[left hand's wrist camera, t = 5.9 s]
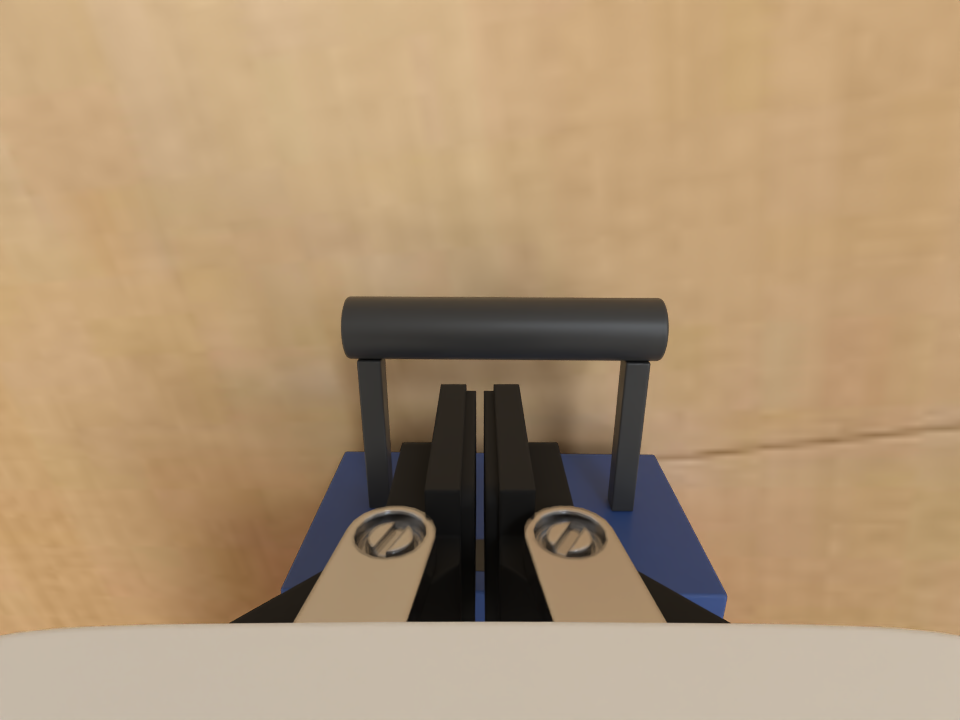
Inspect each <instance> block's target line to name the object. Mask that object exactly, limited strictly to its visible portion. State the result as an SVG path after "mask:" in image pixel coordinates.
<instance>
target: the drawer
mask: <svg viewBox="0 0 960 720" xmlns="http://www.w3.org/2000/svg"><path fill="white" fill-rule="evenodd" d="M668 331H669V324H668V314H667V309H666V306H665V303H664V302H663V300H661V299H659V298H519V297H348V298H347V299H346V300H345V303H344V306H343V310H342V317H341V336H342V344H343V348H344V352H345V354H346V356H347V357H348V358H350V359H358V361H357V368H358V380H359V392H360V404H361V416H362V428H363V440H364V452H345V454H344V456H343V458H342V460H341V462H340V465H339V467H338V469H337V471H336V473H335V475H334V477H333V479H332V482H331V484H330V486H329V488H328V490H327V492H326V494H325V496H324V499H323V501H322V503H321V505H320V507H319V509H318V511H317V513H316V516H315V518H314V520H313V522H312V524H311V526H310V528H309V530H308V533H307V535H306V537H305V539H304V541H303V543H302V545H301V547H300V550H299V552H298V554H297V556H296V558H295V560H294V562H293V564H292V567H291V569H290V571H289V573H288V575H287V577H286V579H285V581H284V584H283V586H282V588H281V594H282V593H284V592H285V591H287V590H289V589H291V588H292V587H294V586H296V585H298V584H300V583H301V582H303V581H305V580H307V579H308V578H310V577H312V576H314V575H315V574H317V573H319V572H321V571H323V570H324V568H325V566H326V564H327V563H328V561H329V559H330V557H331V556H332V554H333V552H334V550H335V549H336V547H337V545H338V544H339V542H340V540H341V538H342V537H343V535H344V533H345V531H346V530H347V528H348V527H349V526H350V524H351V523H352V522H353V521H354V520H355V519H356V518H358V517H359V516H361V515H362V514H364V513H366V512H369V511H371V510H374V509H376V508H381V507H386V505H387V501H388V497H389V493H390V489H391V485H392V481H393V477H394V473H395V469H396V466H397V462H398V458H399V454H400V452H391V445H390V429H389V414H388V398H387V382H386V367H385V359H469V360H604V361H621V365H620V375H619V386H618V396H617V406H616V416H615V427H614V437H613V447H612V454H561V458H562V462H563V466H564V469H565V473H566V477H567V481H568V485H569V489H570V493H571V497H572V501H573V505H574V507H579V508H584V509H586V510H589V511H591V512H594V513H596V514H598V515H599V516H601V517H602V518H604V519H605V520H606V521H607V522H608V523H609V524H610V526H611V527H612V528H613V530H614V531H615V533H616V535H617V537H618V538H619V540H620V542H621V544H622V545H623V547H624V549H625V550H626V552H627V554H628V556H629V557H630V559H631V561H632V563H633V564H634V566H635V568H636V570H637V571H639V572H641V573H643V574H645V575H646V576H648V577H650V578H652V579H653V580H655V581H657V582H659V583H660V584H662V585H664V586H666V587H668V588H669V589H671V590H673V591H675V592H676V593H678V594H680V595H682V596H684V597H685V598H687V599H689V600H691V601H692V602H694V603H696V604H698V605H699V606H701V607H703V608H705V609H707V610H708V611H710V612H712V613H714V614H715V615H717V616H719V617H721V618H722V619H723V616H724V611H725V606H726V601H727V594H726V592H725V590H724V588H723V586H722V584H721V582H720V580H719V579H718V577H717V575H716V573H715V571H714V569H713V567H712V565H711V563H710V561H709V559H708V557H707V555H706V554H705V552H704V550H703V548H702V546H701V544H700V542H699V540H698V538H697V536H696V534H695V532H694V530H693V529H692V527H691V525H690V523H689V521H688V519H687V517H686V515H685V513H684V511H683V509H682V507H681V505H680V504H679V502H678V500H677V498H676V496H675V494H674V492H673V490H672V488H671V486H670V484H669V482H668V480H667V479H666V477H665V475H664V473H663V471H662V469H661V467H660V465H659V463H658V461H657V459H656V457H655V456H654V455H640V448H641V439H642V431H643V422H644V414H645V405H646V397H647V388H648V380H649V371H650V363H649V361H658V360H660V359H661V358H662V357H663V355H664V353H665V350H666V346H667V341H668ZM475 622H485V591H484V453H476V591H475Z"/></svg>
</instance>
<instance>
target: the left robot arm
mask: <svg viewBox="0 0 960 720" xmlns="http://www.w3.org/2000/svg"><path fill="white" fill-rule="evenodd" d="M475 591H476V391H466V384H441V388H440V395H439V401H438V407H437V414H436V420H435V426H434V433H433V439H432V442H404V443H402V446H401V450H400V454H399V458H398V462H397V466H396V469H395V473H394V477H393V481H392V485H391V489H390V493H389V497H388V501H387V505H386V507H381V508H376V509H374V510H371V511H369V512H366V513H364V514H362V515H361V516H359V517H358V518H356V519H355V520H354V521H353V522H352V523H351V524H350V526H349V527H348V528H347V530H346V531H345V533H344V535H343V537H342V538H341V540H340V542H339V544H338V545H337V547H336V549H335V550H334V552H333V554H332V556H331V557H330V559H329V561H328V563H327V564H326V566H325V568H324V570H323V571H321V572H319V573H317V574H315V575H314V576H312V577H310V578H308V579H307V580H305V581H303V582H301V583H300V584H298V585H296V586H294V587H292V588H291V589H289V590H287V591H285V592H284V593H282V594H280V595H278V596H276V597H275V598H273V599H271V600H269V601H268V602H266V603H264V604H262V605H261V606H259V607H257V608H255V609H253V610H252V611H250V612H248V613H246V614H245V615H243V616H241V617H239V618H238V619H236V620H234V621H232V622H230V623H224V624H140V625H113V626H86V627H63V628H53V629H43V630H33V631H23V632H16V633H11V634H5V635H0V720H960V635H955V634H949V633H944V632H937V631H927V630H917V629H907V628H897V627H874V626H847V625H820V624H736V623H730V622H728V621H726V620H724V619H722V618H721V617H719V616H717V615H715V614H714V613H712V612H710V611H708V610H707V609H705V608H703V607H701V606H699V605H698V604H696V603H694V602H692V601H691V600H689V599H687V598H685V597H684V596H682V595H680V594H678V593H676V592H675V591H673V590H671V589H669V588H668V587H666V586H664V585H662V584H660V583H659V582H657V581H655V580H653V579H652V578H650V577H648V576H646V575H645V574H643V573H641V572H639V571H637V570H636V568H635V566H634V564H633V563H632V561H631V559H630V557H629V556H628V554H627V552H626V550H625V549H624V547H623V545H622V544H621V542H620V540H619V538H618V537H617V535H616V533H615V531H614V530H613V528H612V527H611V526H610V524H609V523H608V522H607V521H606V520H605V519H604V518H602V517H601V516H599V515H598V514H596V513H594V512H591V511H589V510H586V509H584V508H579V507H574V505H573V501H572V497H571V493H570V489H569V485H568V481H567V477H566V473H565V469H564V466H563V462H562V458H561V454H560V450H559V446H558V443H556V442H528V439H527V433H526V426H525V420H524V414H523V407H522V401H521V395H520V388H519V384H494V391H484V591H485V622H475Z"/></svg>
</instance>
